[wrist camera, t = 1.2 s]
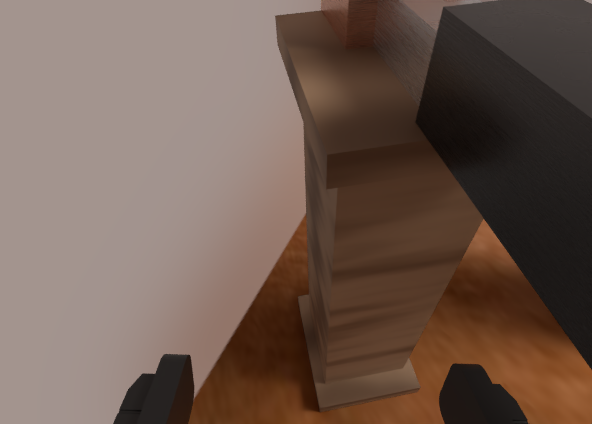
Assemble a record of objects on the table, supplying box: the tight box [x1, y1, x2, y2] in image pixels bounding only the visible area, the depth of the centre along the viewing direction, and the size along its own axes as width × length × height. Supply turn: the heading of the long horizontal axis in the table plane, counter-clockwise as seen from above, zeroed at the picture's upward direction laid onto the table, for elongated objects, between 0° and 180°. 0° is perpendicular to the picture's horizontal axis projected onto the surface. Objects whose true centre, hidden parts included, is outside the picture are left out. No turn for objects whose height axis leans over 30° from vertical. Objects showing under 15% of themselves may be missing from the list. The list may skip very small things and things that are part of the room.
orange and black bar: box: [321, 0, 592, 369], centre depth 11 cm, size 22×5×5 cm, turn 10°
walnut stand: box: [275, 11, 483, 412], centre depth 27 cm, size 12×10×32 cm
